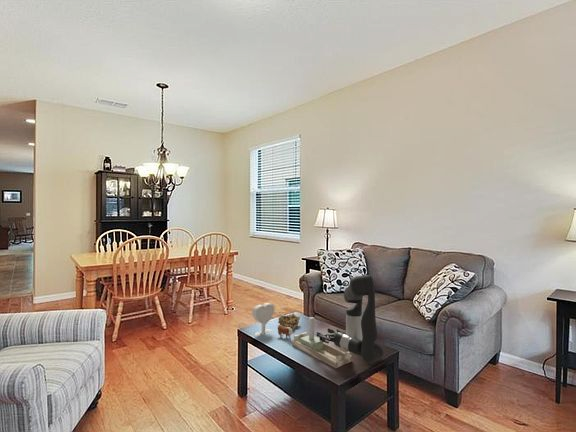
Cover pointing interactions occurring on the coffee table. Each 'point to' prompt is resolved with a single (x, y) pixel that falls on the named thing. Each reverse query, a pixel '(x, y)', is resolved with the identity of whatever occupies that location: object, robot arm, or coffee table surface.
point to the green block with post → (312, 337)
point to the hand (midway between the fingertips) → (322, 331)
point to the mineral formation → (289, 320)
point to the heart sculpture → (263, 315)
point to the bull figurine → (284, 331)
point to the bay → (324, 352)
